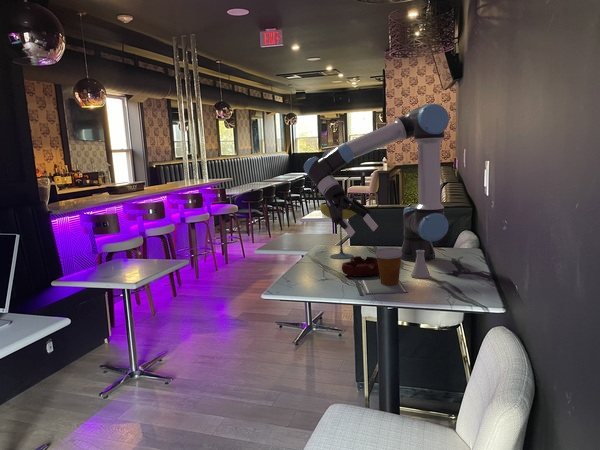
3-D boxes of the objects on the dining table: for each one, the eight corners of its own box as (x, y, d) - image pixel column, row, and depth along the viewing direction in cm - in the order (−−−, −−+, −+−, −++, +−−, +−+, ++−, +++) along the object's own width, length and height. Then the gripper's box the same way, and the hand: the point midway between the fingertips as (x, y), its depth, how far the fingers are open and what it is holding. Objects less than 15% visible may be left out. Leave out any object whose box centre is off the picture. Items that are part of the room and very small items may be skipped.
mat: (398, 280, 170) (398, 278, 170) (407, 292, 154) (407, 291, 154) (360, 281, 170) (360, 280, 170) (365, 294, 154) (365, 293, 154)
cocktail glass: (367, 254, 217) (366, 201, 213) (350, 262, 202) (348, 205, 198) (333, 251, 226) (331, 200, 223) (315, 259, 211) (312, 204, 208)
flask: (431, 274, 176) (430, 248, 174) (429, 279, 169) (429, 252, 168) (411, 273, 178) (411, 248, 177) (409, 278, 171) (409, 252, 170)
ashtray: (380, 280, 171) (380, 267, 170) (339, 277, 178) (338, 265, 177) (392, 269, 187) (392, 257, 186) (353, 267, 194) (353, 255, 193)
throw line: (357, 280, 172) (357, 280, 172) (363, 295, 153) (363, 295, 153) (354, 280, 172) (354, 280, 172) (360, 296, 153) (360, 295, 153)
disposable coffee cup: (397, 287, 159) (396, 253, 157) (372, 285, 164) (370, 252, 162) (407, 280, 166) (406, 248, 165) (382, 278, 172) (381, 247, 170)
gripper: (347, 193, 188) (378, 232, 179) (304, 200, 170) (337, 244, 162) (357, 180, 183) (390, 220, 175) (313, 186, 166) (348, 230, 157)
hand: (364, 231), depth 168 cm, fingers open, 13 cm apart
